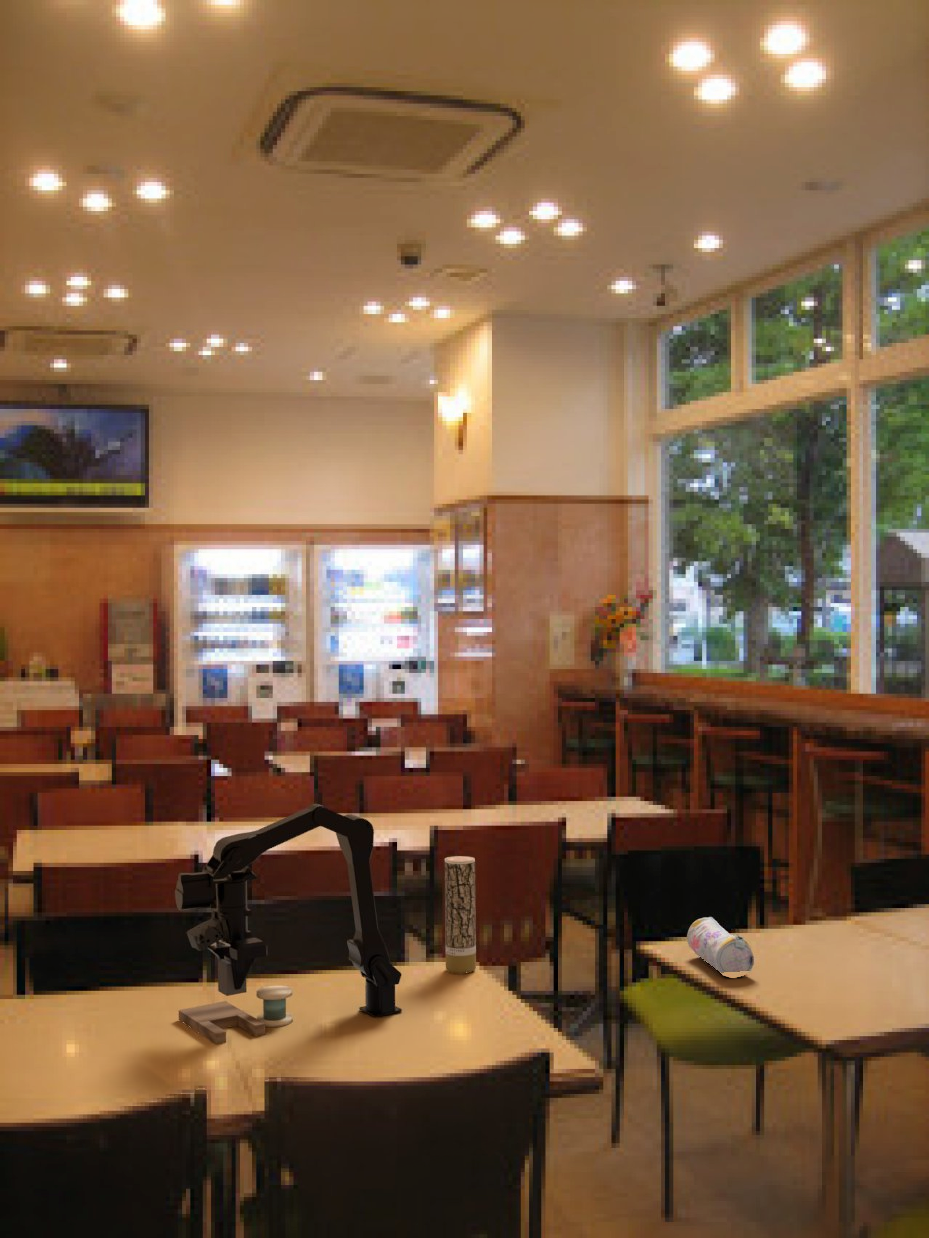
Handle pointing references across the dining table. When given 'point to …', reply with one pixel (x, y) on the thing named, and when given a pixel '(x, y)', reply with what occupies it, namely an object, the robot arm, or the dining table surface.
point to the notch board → (219, 1020)
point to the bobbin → (274, 1005)
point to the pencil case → (719, 946)
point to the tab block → (227, 979)
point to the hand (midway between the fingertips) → (232, 986)
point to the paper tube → (460, 914)
